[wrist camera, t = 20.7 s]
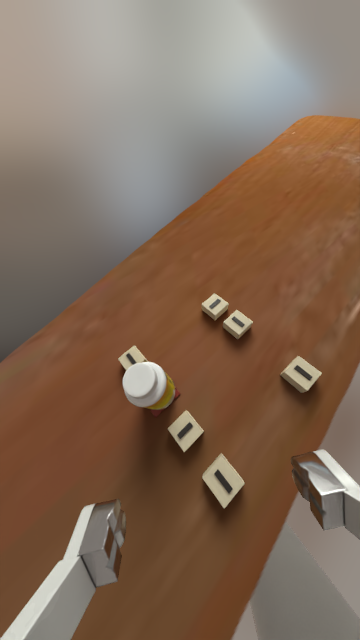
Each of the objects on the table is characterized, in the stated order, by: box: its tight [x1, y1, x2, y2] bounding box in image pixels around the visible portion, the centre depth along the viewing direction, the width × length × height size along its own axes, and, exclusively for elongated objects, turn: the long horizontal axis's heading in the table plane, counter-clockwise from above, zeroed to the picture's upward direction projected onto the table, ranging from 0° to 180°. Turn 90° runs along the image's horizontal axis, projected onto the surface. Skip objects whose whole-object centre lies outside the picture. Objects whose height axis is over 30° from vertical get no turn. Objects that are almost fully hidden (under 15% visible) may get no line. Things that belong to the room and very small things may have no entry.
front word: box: [118, 346, 245, 509], centre depth 28 cm, size 25×5×2 cm, turn 41°
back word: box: [202, 293, 322, 393], centre depth 31 cm, size 21×4×2 cm, turn 41°
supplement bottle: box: [123, 362, 175, 410], centre depth 26 cm, size 6×6×10 cm
